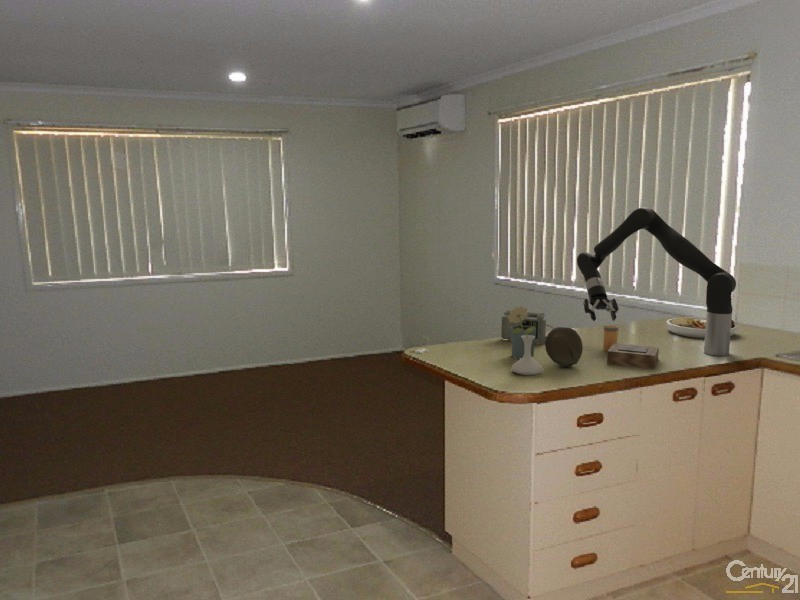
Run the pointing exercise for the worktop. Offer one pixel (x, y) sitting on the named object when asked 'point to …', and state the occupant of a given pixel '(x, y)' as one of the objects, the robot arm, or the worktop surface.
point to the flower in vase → (526, 362)
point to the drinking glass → (521, 341)
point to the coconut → (564, 346)
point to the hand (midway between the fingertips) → (604, 319)
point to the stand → (633, 355)
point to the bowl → (692, 327)
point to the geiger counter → (536, 322)
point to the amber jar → (610, 336)
